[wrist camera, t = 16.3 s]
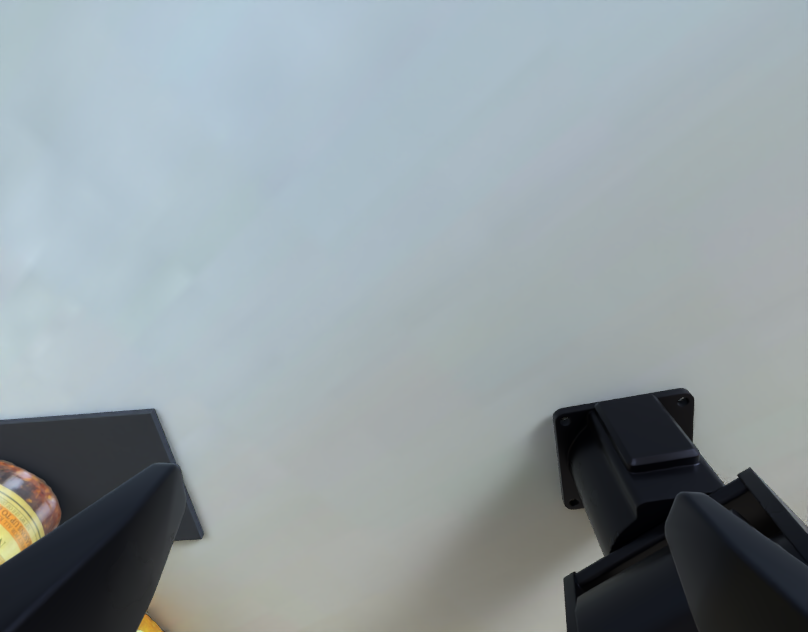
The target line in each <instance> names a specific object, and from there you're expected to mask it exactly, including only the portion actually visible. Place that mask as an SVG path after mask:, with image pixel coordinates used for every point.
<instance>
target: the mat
mask: <svg viewBox="0 0 808 632" xmlns="http://www.w3.org/2000/svg"><path fill="white" fill-rule="evenodd" d="M0 460H5V461H8V462H11V463H13V464H14V465H16V466H17V467H21V468H23V469H25V470H27V471H28V472H30V473H32V474H34V475H36V476H37V477H39V478H41V479H43V480H44V481H45V482H46V484H47V485H48V486H49V487H51V489H52V492H53V493H54V494H55V495H56V496H57V499H58V502H59V505H60V508H61V520H60V523H59V525H58V526H60V525H61V524H63V523H64V522H66V521H67V520H69V519H70V518H72V517H73V516H75V515H76V514H78V513H79V512H81V511H82V510H84V509H85V508H87V507H88V506H90V505H91V504H93V503H95V502H96V501H98V500H99V499H101V498H102V497H104V496H105V495H107V494H108V493H110V492H111V491H113V490H114V489H116V488H117V487H119V486H120V485H122V484H123V483H125V482H126V481H128V480H129V479H131V478H132V477H134V476H135V475H137V474H138V473H140V472H141V471H143V470H144V469H146V468H147V467H149V466H150V465H152V464H154V463H174V464H176V462H175V460H174V457H173V455H172V452H171V450H170V447H169V445H168V442H167V440H166V437H165V435H164V432H163V430H162V427H161V425H160V422H159V420H158V417H157V415H156V412H155V410H154V409H144V410H131V411H118V412H104V413H91V414H78V415H64V416H51V417H37V418H24V419H11V420H0ZM184 488H185V493H186V507H185V511H184V514H183V516H182V519H181V522H180V525H179V527H178V530H177V533H176V536H175V538H174V541H179V540H197V539H202V537H203V535H204V532H203V530H202V527H201V525H200V522H199V520H198V517H197V515H196V512H195V510H194V507H193V505H192V502H191V500H190V497H189V495H188V492H187V490H186V487H185V485H184Z"/></svg>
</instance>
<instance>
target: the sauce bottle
mask: <svg viewBox="0 0 808 632" xmlns="http://www.w3.org/2000/svg"><path fill="white" fill-rule="evenodd" d="M60 520H61V508H60V505H59V502H58V499H57V496H56V495H55V494H54V493H53V492H52V489H51V487H49V486H48V485H47V484H46V482H45V481H44V480H43V479H41V478H39V477H37V476H36V475H34V474H32V473H30V472H28V471H27V470H25V469H23V468H21V467H17V466H16V465H14V464H13V463H11V462H8V461H5V460H0V565H1V564H3V563H4V562H6V561H7V560H9V559H10V558H12V557H13V556H15V555H16V554H18V553H19V552H21V551H22V550H24V549H25V548H27V547H28V546H30V545H31V544H33V543H34V542H36V541H37V540H39V539H40V538H42V537H43V536H45V535H46V534H48V533H49V532H51V531H52V530H54V529H55V528H57V527H58V525H59V523H60Z"/></svg>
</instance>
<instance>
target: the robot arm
mask: <svg viewBox="0 0 808 632" xmlns="http://www.w3.org/2000/svg"><path fill="white" fill-rule="evenodd" d="M683 397H684V398H683ZM680 398H683V399H682V400H681V401H678V400H679V399H680ZM693 416H694V397H693V396H692V395H691V394H690V393H689V392H688V390H686V389H684V388H678V389H672V390H666V391H660V392H655V393H649V394H643V395H637V396H631V397H625V398H619V399H613V400H607V401H601V402H595V403H590V404H584V405H578V406H572V407H566V408H561V409H558V410H557V411H556V412H555V413H554V414H553V423H554V432H555V440H556V449H557V457H558V466H559V474H560V483H561V491H562V499H563V502H564V504H565V507H567V508H568V509H581V508H585V511H586V513H587V515H588V518H589V520H590V523H591V525H592V528H593V530H594V533H595V535H596V537H597V540H598V542H599V545H600V547H601V550H602V552H603V555H604V557H603V558H601V559H600V560H598V561H596V562H595V563H593V564H591V565H589V566H588V567H586V568H584V569H583V570H581V571H579V572H578V573H576V572H573V573H571V574H569V575H567V576H566V577H564V579H563V580H564V594H565V609H566V624H567V632H808V527H807V526H806V525H805V524H804V522H803V521H802V520H801V519H800V518H799V517H798V516H797V515H796V514H795V513H794V512H793V511H792V510H791V509H790V508H789V507H788V506H787V505H786V504H785V503H784V502H783V501H782V500H781V499H780V498H779V497H778V496H777V495H776V494H775V493H774V491H773V490H772V489H771V488H770V487H769V486H768V485H767V484H766V483H765V482H764V481H763V480H762V479H761V478H760V477H759V476H758V475H757V474H756V473H755V472H754V471H753V470H752V469H751V468H748V469H746V470H745V471H743V472H741V473H740V474H738V475H737V476H738V477H739V478H737V479H735V480H733V481H732V482H730V483H728V484H727V485H724V483H723V482H722V481H721V479H720V478H719V477H718V476H717V474H716V473H715V472H714V471H713V469H712V468H711V467H710V466H709V464H708V463H707V462H706V460H705V459H704V458H703V457H702V455H701V454H700V453H699V450H698V449H697V448H696V446H695V445H694V444H693ZM564 417H568V418H567V419H566V420H561V419H562V418H564ZM573 499H574V500H573ZM185 507H186V493H185V488H184V482H183V477H182V472H181V469H180V467H179V465H177V464H174V463H154V464H152V465H150V466H149V467H147V468H146V469H144V470H143V471H141V472H140V473H138V474H137V475H135V476H134V477H132V478H131V479H129V480H128V481H126V482H125V483H123V484H122V485H120V486H119V487H117V488H116V489H114V490H113V491H111V492H110V493H108V494H107V495H105V496H104V497H102V498H101V499H99V500H98V501H96V502H95V503H93V504H91V505H90V506H88V507H87V508H85V509H84V510H82V511H81V512H79V513H78V514H76V515H75V516H73V517H72V518H70V519H69V520H67V521H66V522H64V523H63V524H61V525H60V526H58V527H57V528H55V529H54V530H52V531H51V532H49V533H48V534H46V535H45V536H43V537H42V538H40V539H39V540H37V541H36V542H34V543H33V544H31V545H30V546H28V547H27V548H25V549H24V550H22V551H21V552H19V553H18V554H16V555H15V556H13V557H12V558H10V559H9V560H7V561H6V562H4V563H3V564H1V565H0V632H137V630H138V628H139V625H140V623H141V621H142V619H143V617H144V615H145V613H146V611H147V609H148V606H149V604H150V602H151V600H152V598H153V595H154V593H155V590H156V588H157V585H158V582H159V580H160V577H161V574H162V571H163V569H164V566H165V563H166V560H167V558H168V555H169V552H170V549H171V547H172V544H173V541H174V538H175V536H176V533H177V530H178V527H179V525H180V522H181V519H182V516H183V514H184V511H185Z"/></svg>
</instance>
